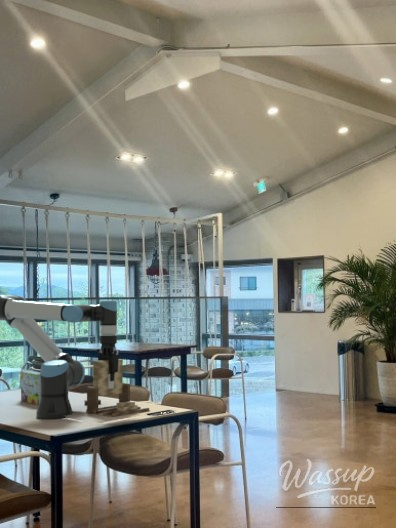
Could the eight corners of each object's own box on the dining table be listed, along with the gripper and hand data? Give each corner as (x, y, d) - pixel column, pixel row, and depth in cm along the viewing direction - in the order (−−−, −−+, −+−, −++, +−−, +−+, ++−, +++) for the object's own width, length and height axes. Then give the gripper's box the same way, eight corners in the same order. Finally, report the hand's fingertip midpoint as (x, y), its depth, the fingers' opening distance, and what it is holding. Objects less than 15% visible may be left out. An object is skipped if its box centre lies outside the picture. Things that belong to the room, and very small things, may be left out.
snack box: (19, 400, 333) (19, 370, 334) (30, 399, 337) (30, 370, 338) (36, 405, 316) (36, 373, 317) (47, 404, 320) (47, 372, 321)
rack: (111, 419, 271) (111, 390, 272) (83, 415, 284) (83, 387, 285) (151, 412, 287) (150, 385, 288) (122, 408, 300) (122, 382, 301)
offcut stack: (122, 414, 277) (122, 404, 277) (115, 413, 280) (115, 403, 280) (138, 412, 284) (138, 401, 284) (131, 411, 287) (131, 400, 287)
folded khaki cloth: (97, 396, 285) (97, 361, 285) (93, 395, 287) (93, 361, 288) (122, 393, 295) (122, 359, 296) (117, 392, 297) (118, 359, 298)
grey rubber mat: (153, 416, 279) (153, 415, 279) (136, 413, 287) (136, 412, 287) (176, 411, 289) (176, 410, 289) (159, 409, 297) (159, 408, 297)
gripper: (126, 335, 290) (126, 388, 288) (103, 334, 301) (103, 385, 299) (113, 335, 284) (113, 390, 283) (90, 334, 295) (89, 387, 294)
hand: (108, 388), depth 291 cm, fingers closed on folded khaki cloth, 3 cm apart
